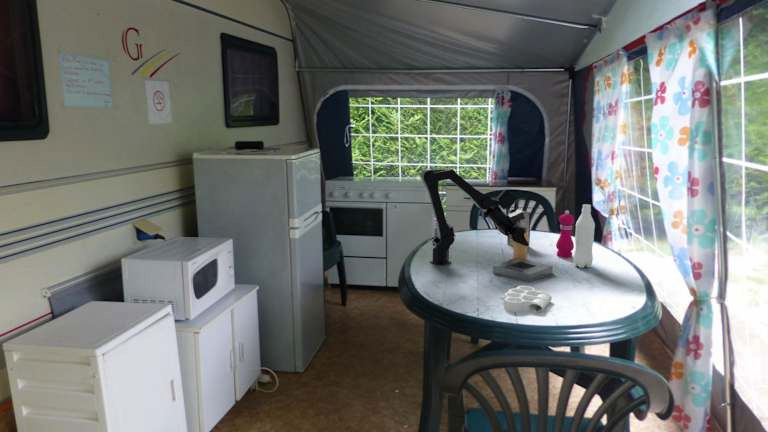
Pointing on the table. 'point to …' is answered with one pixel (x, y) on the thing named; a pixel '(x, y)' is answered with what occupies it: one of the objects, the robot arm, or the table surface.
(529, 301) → the white flat lumpy part
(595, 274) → the table surface
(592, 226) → the water bottle
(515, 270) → the grey square frame
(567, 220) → the pepper mill
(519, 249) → the plug
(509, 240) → the coffee box
